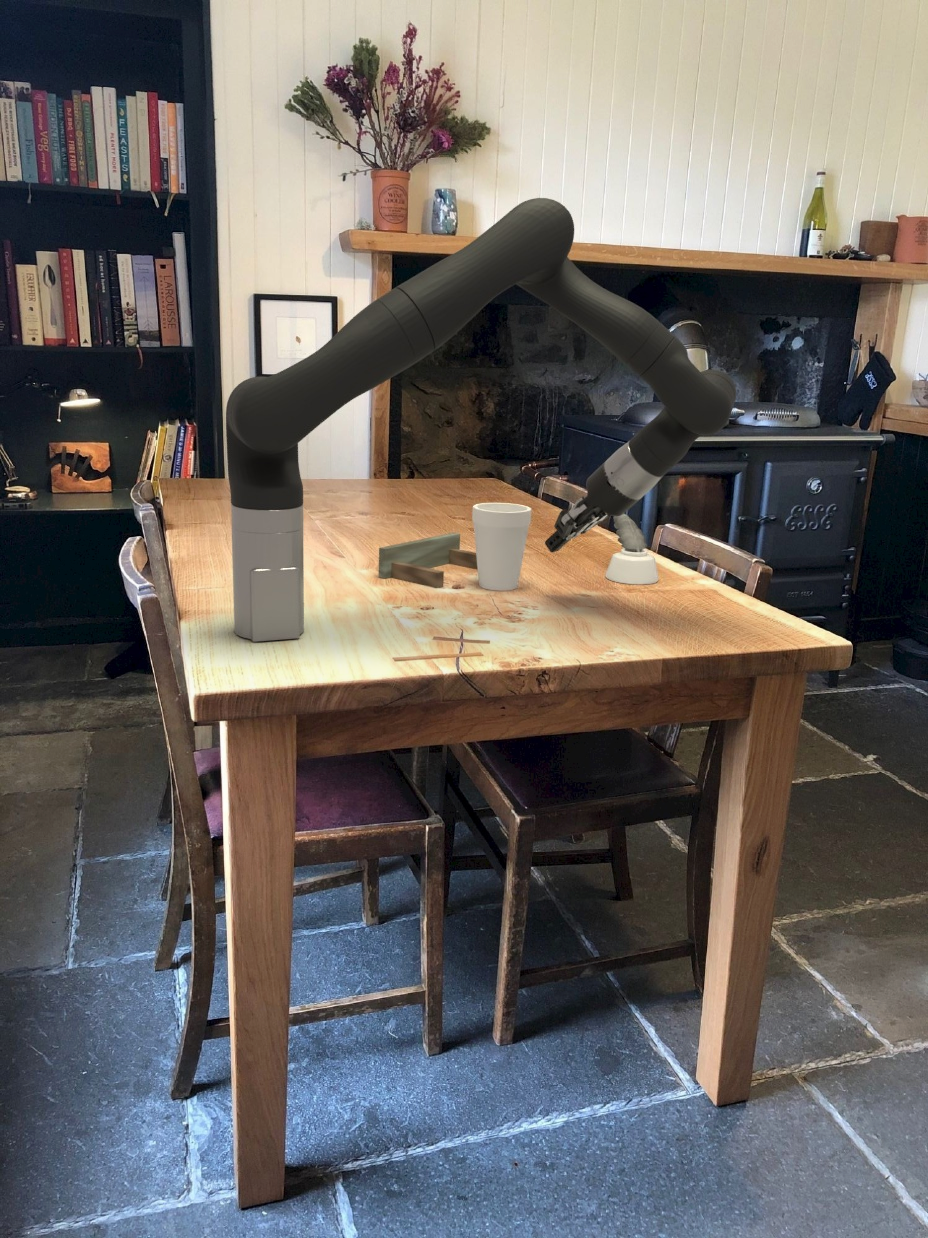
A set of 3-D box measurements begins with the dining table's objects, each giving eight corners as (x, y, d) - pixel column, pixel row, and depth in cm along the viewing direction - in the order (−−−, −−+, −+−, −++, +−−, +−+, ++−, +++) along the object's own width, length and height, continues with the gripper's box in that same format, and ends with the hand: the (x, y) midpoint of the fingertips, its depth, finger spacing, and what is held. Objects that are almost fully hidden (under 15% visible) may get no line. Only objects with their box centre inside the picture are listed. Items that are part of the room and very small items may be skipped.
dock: (503, 570, 173) (505, 542, 171) (431, 589, 157) (432, 559, 156) (452, 559, 179) (453, 532, 178) (378, 577, 164) (379, 547, 163)
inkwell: (615, 585, 165) (620, 526, 162) (583, 561, 182) (587, 508, 179) (666, 585, 167) (672, 527, 164) (630, 561, 184) (634, 508, 181)
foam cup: (493, 576, 168) (497, 500, 164) (537, 586, 162) (542, 508, 159) (458, 585, 161) (461, 506, 157) (503, 596, 155) (507, 514, 152)
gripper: (632, 454, 149) (559, 522, 160) (587, 461, 139) (512, 534, 150) (660, 493, 148) (585, 559, 158) (617, 503, 138) (540, 573, 148)
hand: (550, 547), depth 154 cm, fingers closed
